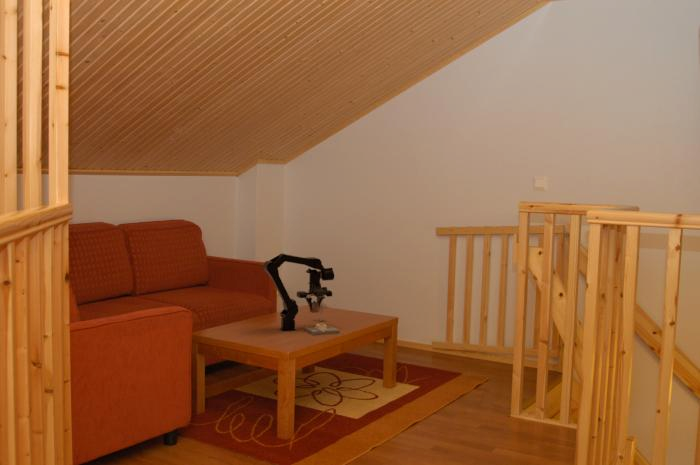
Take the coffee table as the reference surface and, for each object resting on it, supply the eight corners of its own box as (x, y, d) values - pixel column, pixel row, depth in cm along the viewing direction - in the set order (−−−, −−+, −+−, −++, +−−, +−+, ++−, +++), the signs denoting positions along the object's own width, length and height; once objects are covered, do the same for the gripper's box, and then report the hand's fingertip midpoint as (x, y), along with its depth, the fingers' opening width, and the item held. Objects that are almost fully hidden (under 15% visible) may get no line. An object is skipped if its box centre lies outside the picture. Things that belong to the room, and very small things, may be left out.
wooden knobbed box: (312, 312, 419) (312, 301, 419) (309, 311, 423) (310, 300, 422) (318, 312, 421) (318, 301, 420) (316, 311, 424) (316, 300, 424)
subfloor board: (313, 335, 404) (313, 331, 404) (304, 330, 415) (304, 327, 415) (339, 333, 410) (339, 330, 410) (331, 328, 421) (331, 325, 421)
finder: (319, 330, 407) (319, 325, 406) (316, 328, 411) (316, 323, 411) (326, 330, 408) (326, 324, 408) (323, 328, 413) (323, 323, 412)
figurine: (330, 321, 440) (331, 295, 439) (326, 322, 437) (327, 296, 435) (313, 319, 446) (313, 293, 444) (309, 320, 442) (310, 294, 441)
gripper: (303, 284, 409) (303, 313, 411) (336, 282, 417) (336, 311, 418) (296, 280, 419) (296, 309, 421) (328, 279, 427) (328, 307, 428)
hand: (314, 309), depth 422 cm, fingers closed on wooden knobbed box, 4 cm apart
